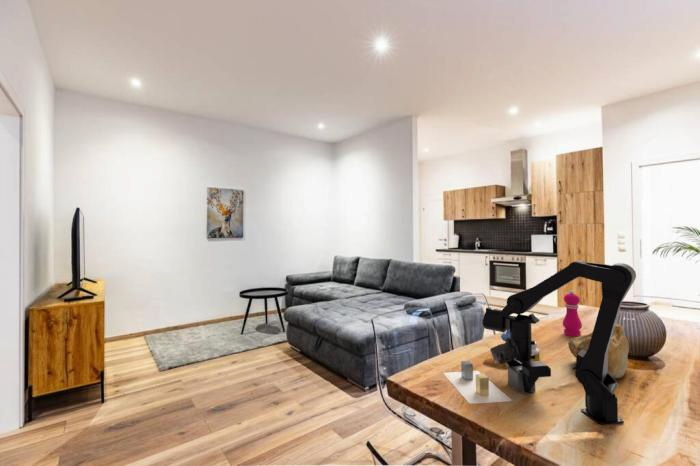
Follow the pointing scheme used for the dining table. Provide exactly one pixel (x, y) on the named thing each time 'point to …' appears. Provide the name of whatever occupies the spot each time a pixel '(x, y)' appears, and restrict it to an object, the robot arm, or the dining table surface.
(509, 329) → the grapes
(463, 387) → the board
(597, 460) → the dining table surface
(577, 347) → the rough brown rock
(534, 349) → the supplement bottle
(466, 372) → the steel post
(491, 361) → the pastry
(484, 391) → the pale wooden block
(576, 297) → the pepper mill
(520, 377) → the dark gray block
